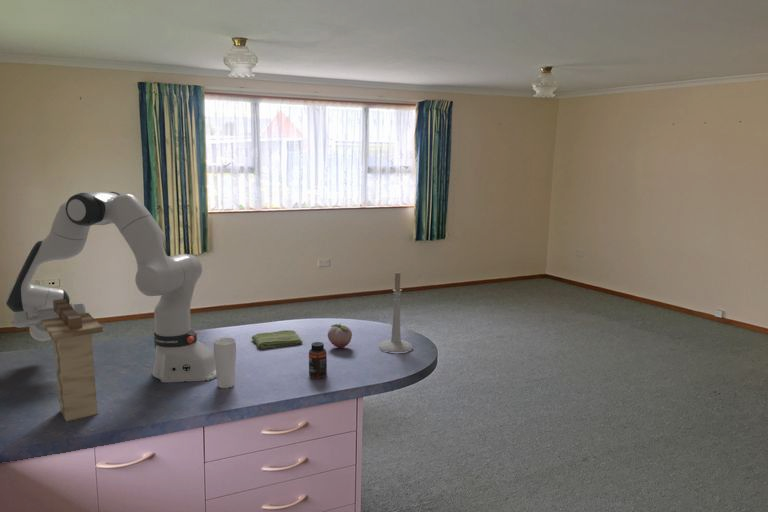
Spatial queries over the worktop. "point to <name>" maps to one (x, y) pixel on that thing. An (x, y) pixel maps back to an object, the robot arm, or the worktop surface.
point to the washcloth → (276, 339)
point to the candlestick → (396, 325)
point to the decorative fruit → (339, 335)
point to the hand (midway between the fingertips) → (52, 308)
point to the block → (67, 314)
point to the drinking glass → (225, 361)
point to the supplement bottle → (317, 361)
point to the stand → (74, 365)
